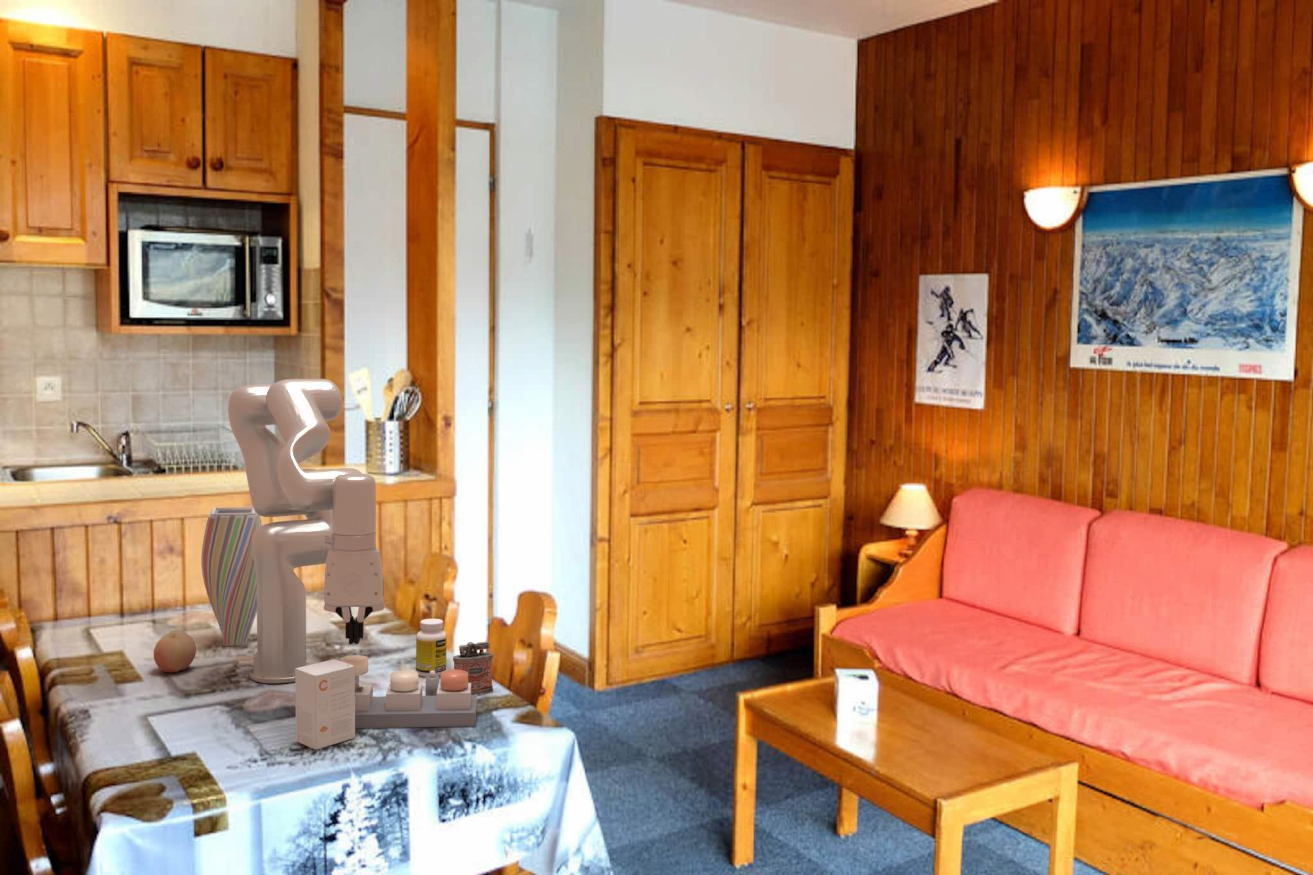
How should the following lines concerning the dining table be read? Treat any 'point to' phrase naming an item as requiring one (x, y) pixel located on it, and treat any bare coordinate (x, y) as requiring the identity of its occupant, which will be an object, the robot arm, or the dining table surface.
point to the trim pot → (431, 684)
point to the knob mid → (404, 680)
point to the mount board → (414, 708)
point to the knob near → (357, 665)
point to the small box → (325, 703)
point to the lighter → (476, 666)
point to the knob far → (454, 680)
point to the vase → (231, 570)
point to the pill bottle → (431, 648)
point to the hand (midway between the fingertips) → (354, 642)
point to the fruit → (174, 651)
